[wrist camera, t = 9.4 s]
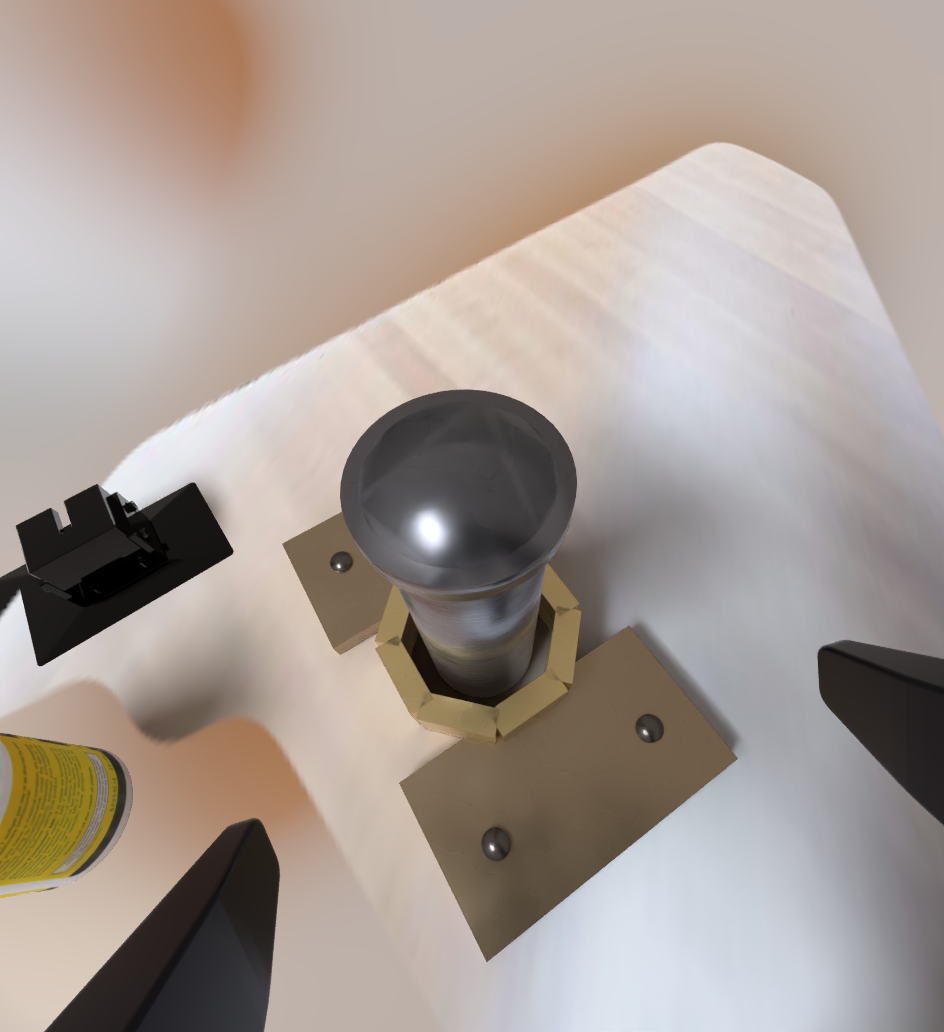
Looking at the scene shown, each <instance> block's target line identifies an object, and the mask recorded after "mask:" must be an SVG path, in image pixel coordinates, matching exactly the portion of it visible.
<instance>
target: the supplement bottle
mask: <svg viewBox="0 0 944 1032" xmlns="http://www.w3.org/2000/svg"><path fill="white" fill-rule="evenodd" d="M132 796H133V791H132V782H131V778H130V775H129V772H128V770H127V768H126V766H125V764H124V763H123V762H122V761H121V760H120V759H119V758H118V757H117V756H116V755H114V754H113V753H111V752H108V751H106V750H103V749H98V748H92V747H87V746H81V745H74V744H67V743H62V742H55V741H49V740H42V739H36V738H30V737H22V736H17V735H11V734H4V733H0V898H3V897H9V896H15V895H21V894H28V893H33V892H39V891H44V890H51V889H55V888H59V887H62V886H65V885H67V884H70V883H72V882H73V881H76V880H77V879H79V878H81V877H82V876H84V875H85V874H86V873H88V872H89V871H90V870H92V869H93V868H94V867H95V866H96V865H97V864H99V863H100V862H101V861H102V860H103V859H104V858H105V857H106V856H107V854H108V853H109V852H110V851H111V850H112V848H113V847H114V846H115V844H116V843H117V841H118V839H119V838H120V836H121V834H122V832H123V830H124V828H125V825H126V823H127V820H128V818H129V814H130V811H131V806H132Z"/></svg>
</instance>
